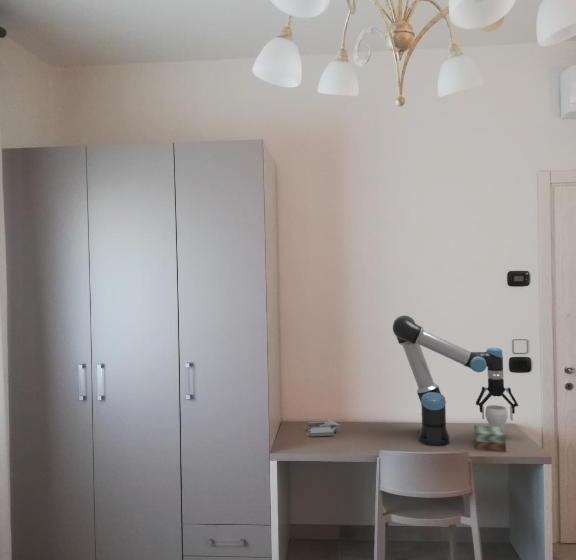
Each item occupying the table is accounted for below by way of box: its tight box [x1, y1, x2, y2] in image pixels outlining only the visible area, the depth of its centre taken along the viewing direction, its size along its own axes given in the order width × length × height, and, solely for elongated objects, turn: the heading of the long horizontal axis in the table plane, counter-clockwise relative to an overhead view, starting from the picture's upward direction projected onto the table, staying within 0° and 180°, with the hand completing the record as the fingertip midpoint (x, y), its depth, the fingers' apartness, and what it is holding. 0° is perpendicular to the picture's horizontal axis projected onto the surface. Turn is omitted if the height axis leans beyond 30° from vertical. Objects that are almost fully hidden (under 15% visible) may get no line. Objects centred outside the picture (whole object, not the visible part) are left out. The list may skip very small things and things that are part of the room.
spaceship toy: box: [303, 418, 342, 437], centre depth 274 cm, size 14×20×6 cm
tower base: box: [473, 424, 507, 453], centre depth 246 cm, size 13×13×8 cm
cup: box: [484, 404, 508, 431], centre depth 261 cm, size 11×11×15 cm
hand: (497, 419), depth 261 cm, fingers open, 13 cm apart
